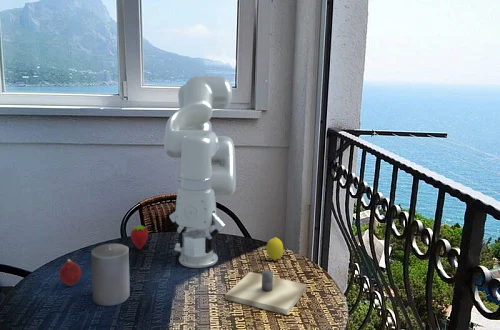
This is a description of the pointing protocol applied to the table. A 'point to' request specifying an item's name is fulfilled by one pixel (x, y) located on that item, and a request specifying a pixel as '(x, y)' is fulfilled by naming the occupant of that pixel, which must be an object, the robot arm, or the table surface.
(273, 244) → the lemon
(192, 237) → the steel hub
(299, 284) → the post board
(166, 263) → the table surface
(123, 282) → the pillar candle
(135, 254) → the table surface
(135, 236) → the strawberry
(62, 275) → the onion
